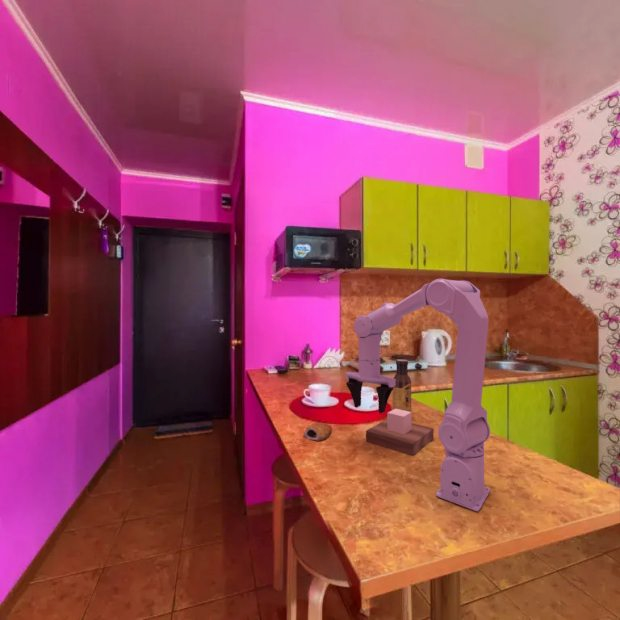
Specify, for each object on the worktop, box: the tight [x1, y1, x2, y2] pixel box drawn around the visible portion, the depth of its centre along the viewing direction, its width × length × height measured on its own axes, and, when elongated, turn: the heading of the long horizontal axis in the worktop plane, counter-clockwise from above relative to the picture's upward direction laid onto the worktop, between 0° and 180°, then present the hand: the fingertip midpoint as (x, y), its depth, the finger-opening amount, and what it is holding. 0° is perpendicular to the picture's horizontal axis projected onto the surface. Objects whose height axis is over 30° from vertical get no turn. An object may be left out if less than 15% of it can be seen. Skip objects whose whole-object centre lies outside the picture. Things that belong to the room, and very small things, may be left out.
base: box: [365, 419, 434, 456], centre depth 93 cm, size 14×14×3 cm
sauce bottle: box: [392, 358, 412, 412], centre depth 112 cm, size 6×6×20 cm
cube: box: [386, 409, 413, 435], centre depth 93 cm, size 5×5×5 cm
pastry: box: [303, 422, 333, 442], centre depth 98 cm, size 9×7×4 cm
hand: (369, 409), depth 88 cm, fingers open, 7 cm apart
